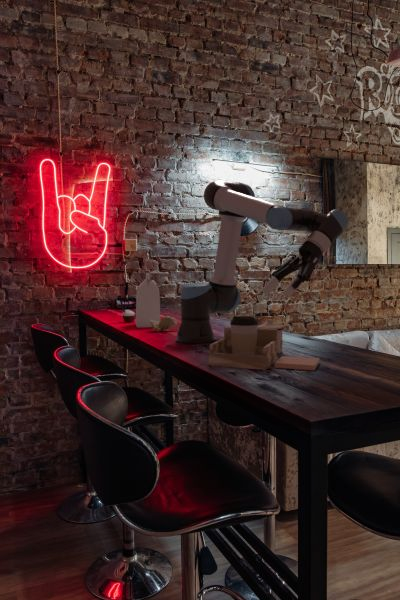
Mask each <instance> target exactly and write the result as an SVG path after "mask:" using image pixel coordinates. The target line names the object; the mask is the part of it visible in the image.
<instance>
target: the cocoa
mask: <svg viewBox="0 0 400 600" xmlns="http://www.w3.org/2000/svg"><path fill="white" fill-rule="evenodd" d="M123 303H124V302H123V301H122V299H119V304H120V305H121V309H122V319H123V321H124V323H133V322H134V321H136V312H135V311H132V310H130V309H125V307H124V304H123Z"/></svg>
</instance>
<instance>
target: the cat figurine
mask: <svg viewBox="0 0 400 600" xmlns="http://www.w3.org/2000/svg"><path fill="white" fill-rule="evenodd" d="M160 319H161V321H160V322H158V321H155V320H151V319H150V323H151V325H152V327H151V328H153V331H154V332H156V333H159V331H160V332H162V331H167V330H168V329H171V328H172V327H177V326H178V325H179V322H177V321H175V317H171V315H166V316H163V317H162V318H160Z"/></svg>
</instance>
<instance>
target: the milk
mask: <svg viewBox="0 0 400 600" xmlns="http://www.w3.org/2000/svg"><path fill="white" fill-rule="evenodd" d="M150 275H151V274H150V273H148V272H146V273H145V279H144V280H143V281H142V282H141V283H140V284H138V286H137V287H136V299H135V301H136V303H135V306H136V307H135V315H136V316H135V317H136V319H135V326H136V327H137V328H153V327H152V325H151V323H150V319H151V320H155V321H158V322H160V321H161V319H162V318H161V300H160V299H161V297H160V296H161V295H160V288H159V286H158V284H157V282H156V281H155V280H154V279H151V278H150V277H151V276H150Z"/></svg>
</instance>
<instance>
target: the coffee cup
mask: <svg viewBox="0 0 400 600" xmlns="http://www.w3.org/2000/svg"><path fill="white" fill-rule="evenodd" d="M229 324H230V327H231V341H232V350H233V354H241V355H255V350H256V343H257V333H258V332H257V328H258V326H259V323H258V320H256V318H255V317H254V316H248V315H247V316H245V315H244V316H242V315H241V316H237V315H233V318H232V319H231V320H230V323H229Z"/></svg>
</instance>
